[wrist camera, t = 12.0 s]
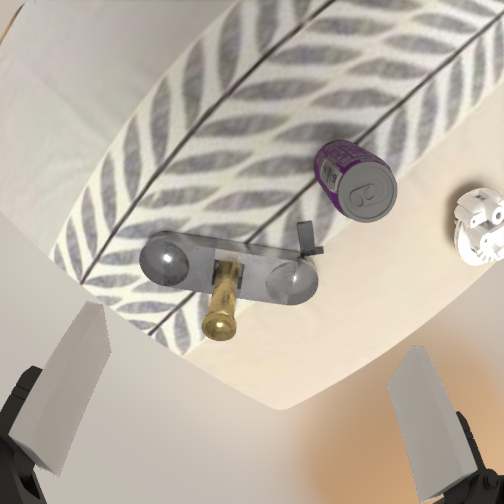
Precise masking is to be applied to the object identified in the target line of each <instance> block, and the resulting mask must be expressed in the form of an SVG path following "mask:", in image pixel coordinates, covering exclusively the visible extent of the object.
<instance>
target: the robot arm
mask: <svg viewBox="0 0 504 504" xmlns="http://www.w3.org/2000/svg"><path fill="white" fill-rule="evenodd" d="M110 353H111V348H110V343H109V338H108V332H107V326H106V320H105V314H104V308H103V305H101V304H97V303H92V302H88V301H87V302H86V303H85V305H84V306H83V308H82V309H81V311H80V312H79V314H78V315H77V317H76V318H75V319H74V321H73V323H72V324H71V325H70V327H69V329H68V330H67V332H66V333H65V335H64V336H63V338H62V339H61V341H60V343H59V344H58V346H57V347H56V349H55V351H54V352H53V354H52V355H51V357H50V359H49V361H48V362H47V364H46V365H45V367H44V369H40V368H38V367H35V366H31V367H30V368H29V369H28V370H26V371H25V372H24V373H23V374H22V375H21V377H20V378H19V380H18V382H17V383H16V386H15V387H14V389H13V390H12V393H11V395H9V397H8V399H7V401H6V403H5V404H4V406H3V408H2V410H1V412H0V504H47V502H46V500H45V498H44V495H43V493H42V490H41V488H40V485H39V483H38V480H37V477H36V474H35V472H34V470H33V468H34V465H35V464H36V465H37V466H38V467H39V468H40V469H41V470H44V471H46V472H48V473H50V474H52V475H54V476H56V477H60V474H61V471H62V468H63V465H64V462H65V460H66V457H67V454H68V451H69V449H70V446H71V444H72V441H73V439H74V436H75V433H76V431H77V428H78V426H79V423H80V421H81V419H82V416H83V414H84V412H85V409H86V407H87V404H88V402H89V400H90V397H91V395H92V393H93V391H94V388H95V386H96V384H97V381H98V379H99V377H100V375H101V373H102V370H103V368H104V366H105V364H106V362H107V360H108V357H109V355H110ZM386 387H387V389H388V393H389V396H390V399H391V402H392V405H393V408H394V411H395V414H396V418H397V421H398V424H399V427H400V431H401V434H402V437H403V441H404V444H405V448H406V451H407V455H408V459H409V462H410V466H411V470H412V474H413V478H414V481H415V486H416V490H417V494H418V498H419V503H421V502H425V501H428V500H432V499H434V498H436V497H437V496H439V495H441V494H444V497H443V498H441V499H440V500H438V501H436V502H435V503H433V504H504V475H497V473H496V472H495V471H494V470H492V469H486V467H485V465H484V463H483V460H482V458H481V455H480V452H479V450H478V447H477V444H476V442H475V439H473V434H472V432H470V427H469V425H468V423H467V420H466V419H465V418H464V416H463V415H462V414H461V413H460V412H459V411H458V412H455V410H454V407H453V405H452V403H451V401H450V398H449V396H448V394H447V392H446V390H445V387H444V385H443V383H442V381H441V379H440V377H439V375H438V373H437V370H436V368H435V366H434V364H433V362H432V360H431V358H430V356H429V354H428V352H427V351H426V349H425V347H424V346H411V348H410V350H409V351H408V353H407V355H406V356H405V357H404V359H403V361H402V362H401V364H400V365H399V367H398V368H397V370H396V371H395V373H394V374H393V376H392V377H391V379H390V380H389V382H388V383H387V384H386Z"/></svg>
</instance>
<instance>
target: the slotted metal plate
mask: <svg viewBox="0 0 504 504" xmlns="http://www.w3.org/2000/svg"><path fill="white" fill-rule="evenodd" d="M216 260H222V261H229V262H235V263H241V264H244V268H243V274H242V278H239V277H238V284H237V293H236V298H240V299H247V300H254V301H261V302H268V303H275V304H282V305H298V304H301V303H303V302H305V301H307V300H309V299H310V298H311V297H312V296H313V295H314V294H315V292H316V290H317V287H318V277H317V273H316V270H315V266H314V264H313V262H312V260H311V259H310V258H309V257H308V256H303V255H301V253H300V252H296V251H290V250H284V249H278V248H272V247H265V246H259V245H253V244H247V243H240V242H234V241H228V240H222V239H215V238H209V237H202V236H196V235H190V234H183V233H177V232H170V231H163V232H159V233H156V234H155V235H153V236H152V237H151V238H150V239H149V240H148V242H147V243H146V245H145V246H144V248H143V249H142V251H141V253H140V258H139V261H140V266H141V269H142V271H143V273H144V274H145V275H146V276H147V277H148V278H149V279H150V280H151V281H153V282H154V283H156V284H159V285H162V286H168V287H173V288H179V289H185V290H191V291H196V292H202V293H209V294H212V293H213V288H214V284H215V279H216V275H217V274H214V269H215V261H216Z"/></svg>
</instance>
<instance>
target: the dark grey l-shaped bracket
mask: <svg viewBox="0 0 504 504" xmlns="http://www.w3.org/2000/svg"><path fill="white" fill-rule="evenodd" d="M297 226H298V234H299V241H300V249H301V255H303V256H310V255H316V254H323V253H324V252H323V247H316V248H315V245H314V236H313V226H312V221H307V222H300V223H297Z"/></svg>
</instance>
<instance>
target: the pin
mask: <svg viewBox="0 0 504 504" xmlns="http://www.w3.org/2000/svg"><path fill="white" fill-rule="evenodd" d="M239 266H240V264H239V263H235V262H229V261H222V260H220V262H219V266H218V270H217V275H216V279H215V284H214V288H213V293H212V297H211V302H210V307H209V311H208V314H206V315H205V317H204V318H203V322H202V331H203V333H204V334H205V335H206V336H207V337H208V338H210V339H212V340H216V341H226V340H229V339H231V338H232V337H233V336H234V335H235V333H236V326H237V324H236V320H235V319H234V311H235V302H236V293H237V284H238V275H239Z"/></svg>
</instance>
